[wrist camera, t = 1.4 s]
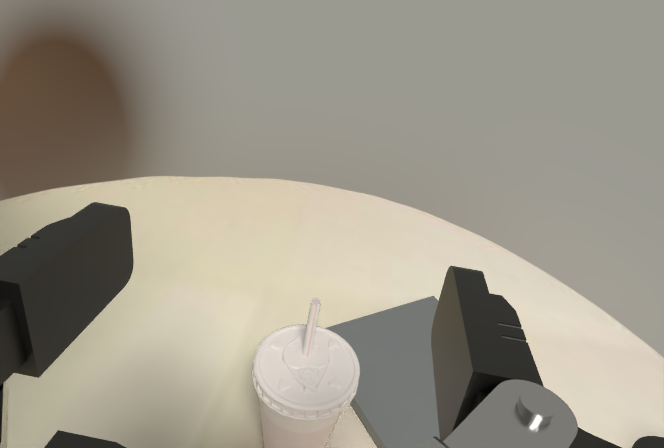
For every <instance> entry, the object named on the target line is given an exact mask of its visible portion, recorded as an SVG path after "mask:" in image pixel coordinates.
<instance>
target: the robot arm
mask: <svg viewBox="0 0 664 448" xmlns="http://www.w3.org/2000/svg"><path fill="white" fill-rule="evenodd" d="M132 270H133V248H132V235H131V221H130V214H129V212H128V210H127V209H126V208H124V207H120V206H114V205H108V204H103V203H97V202H94V203H91V204H90V205H88V206H87V207H85V208H84V209H82V210H81V211H79V212H78V213H76V214H75V215H73V216H72V217H69V218H66V219H63V220H61V221H58V222H55V223H52V224H49V225H47V226H45V227H44V228H42V229H41V230H39V231H38V232H36V233H35V234H33V235H32V236H31V238H27V239H25V240H24V241H22V242H21V243H19V244H18V246H17V247H13V248H12V249H10V250H9V251H7V252H5V253H4V254H2V255H1V256H0V448H7V422H8V387H7V383H6V380H7V379H8V378H9V377H10V376H11V375H12V374H13V373H18V374H23V375H28V376H33V377H38V378H39V377H40V376H41V375H42V374H43V372H44V371H45V370H46V369H47V368H48V367H49V366H50V365H51V364H52V363H53V362H54V361H55V360H56V359H57V358H58V357H59V356H60V354H61V353H62V352H63V351H64V350H65V349H66V348H67V347H68V346H69V345H70V344H71V343H72V342H73V341H74V340H75V339H76V338H77V336H78V335H79V334H80V333H81V332H82V331H83V330H84V329H85V328H86V327H87V326H88V325H89V324H90V323H91V322H92V321H93V320H94V318H95V317H96V316H97V315H98V314H99V313H100V312H101V311H102V310H103V309H104V308H105V307H106V306H107V305H108V304H109V303H110V301H111V300H112V299H113V298H114V297H115V296H116V295H117V294H118V293H119V292H120V291H121V290H122V289H123V288H124V287H125V285H126V284H127V283H128V281H129V279H130V277H131V274H132ZM431 348H432V359H433V370H434V381H435V392H436V403H437V414H438V425H439V436H440V439H439V438H438V437H436V436H434V437H431V438H430V439H428V440H427V441H426V442H425V443H424V444H423V445H422V446H421V447H420V448H621V447H619V446H617V445H615V444H612V443H610V442H608V441H605V440H603V439H601V438H599V437H596V436H594V435H592V434H590V433H588V432H586V431H584V430H582V429H580V428H579V427H578V425H577V421H576V418H575V416H574V414H573V412H572V410H571V409H570V408H569V407H568V405H567V404H566V403H565V402H564V401H563V400H562V399H561V398H560V397H558V396H557V395H556V394H554V393H553V392H551V391H550V390H548V389H546V388H545V387H544V386H543V383H542V381H541V378H540V375H539V373H538V370H537V367H536V364H535V362H534V359H533V356H532V354H531V351H530V348H529V345H528V343H526V337H525V335H524V332H523V329H521V324H520V321H519V318H518V316H517V313H516V311H515V309H514V308H513V307H512V306H511V305H510V304H509V303H508V302H507V301H506V300H505V299H504V298H503V296H500V295H495V294H489V291H488V287H487V284H486V281H485V278H484V274H483V272H482V271H477V270H472V269H466V268H460V267H455V266H450V267H449V269H448V271H447V274H446V277H445V281H444V284H443V288H442V291H441V295H440V298H439V302H438V305H437V309H436V312H435V316H434V320H433V325H432V332H431ZM45 448H126V447H124V446H122V445H120V444H118V443H116V442H112V441H107V440H102V439H97V438H92V437H88V436H83V435H78V434H73V433H68V432H64V431H59V430H58V431H57V432H56V434H55V435H54V436H53V437H52V439H51V440H50V441H49V443H48V444H47V445H46V446H45ZM632 448H664V438H663V437H657V436H646V437H642V438H640V439H638V440H637V441H636V442H635V443H634V445H633V447H632Z"/></svg>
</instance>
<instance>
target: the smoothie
mask: <svg viewBox="0 0 664 448" xmlns="http://www.w3.org/2000/svg"><path fill="white" fill-rule="evenodd" d="M320 305H321V300H320V299H318V298H313V299H312V300H311V304H310V310H309V316H308V322H307V325H304V324H302V325H292V326H287V327H284V328H281V329H278V330H276V331H274V332H273V333H271V334H270V335H268V336H267V337H266V338H265V339H264V340H263V341H262V342H261V344H260V345H259V347H258V348H257V351H256V353H255V357H254V362H253V368H252V379H253V385H254V388H255V389H256V391H257V393H258V395H259V401H260V411H261V422H262V432H263V443H264V448H324V447H325V445H326V443H327V441H328V439H329V437H330V434H331V432H332V430H333V428H334V426H335V424H336V422H337V420H338V418H339V416H340V414H341V412H342V410H343V409H344V408H346V407H347V406H348V405H349V404H350V402H351V401H352V399H353V398H354V396H355V395H356V391H357V387H358V383H359V381H358V380H359V376H360V366H359V361H358V358H357V356H356V354H355V352H354V350H353V349H352V347H351V346H350V345H349V344H348V343H347V342H346V341H345V340H344V339H343V338H342V337H340V336H339V335H338V334H336V333H334V332H332V331H330V330H328V329H325V328H322V327H319V326H317V321H318V316H319V310H320Z"/></svg>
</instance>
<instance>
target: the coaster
mask: <svg viewBox="0 0 664 448" xmlns="http://www.w3.org/2000/svg"><path fill="white" fill-rule="evenodd" d="M438 302H439V301H438V300H437V299H436V298H435V297H434V296H431V297H428V298H425V299H421V300H418V301H415V302H411V303H408V304H405V305H401V306H398V307H394V308H391V309H388V310H384V311H381V312H378V313H374V314H371V315H368V316H364V317H361V318H358V319H354V320H351V321H348V322H344V323H341V324H338V325H334V326H331V327H328V328H325V329H328V330H330V331H332V332H334V333H336V334H338V335H339V336H340V337H342V338H343V339H344V340H345V341H346V342H347V343H348V344H349V345H350V346H351V347H352V349H353V350H354V352H355V354H356V356H357V358H358V361H359V366H360V376H359V380H358V381H359V383H358V387H357V391H356V395H355V396H354V398H353V399H352V401H351V402H350V404H351V406H352V407H353V409H354V410H355V412H356V414H357V415H358V417H359V418H360V420H361V422H362V423H363V425H364V426H365V428H366V430H367V431H368V433H369V434H370V436H371V438H372V439H373V441H374V442H375V444H376V446H377V447H378V448H420V447H421V446H422V445H423V444H424V443H425V442H426V441H427V440H428V439H430V438H431V437H434V436H436V437H438V438H439V439H440V436H439V425H438V414H437V403H436V392H435V381H434V370H433V359H432V348H431V332H432V325H433V320H434V316H435V312H436V309H437V305H438Z"/></svg>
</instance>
